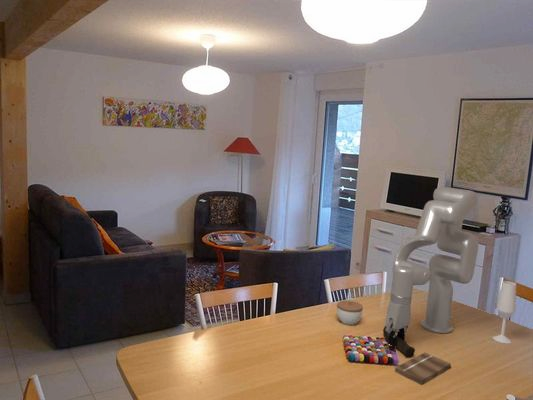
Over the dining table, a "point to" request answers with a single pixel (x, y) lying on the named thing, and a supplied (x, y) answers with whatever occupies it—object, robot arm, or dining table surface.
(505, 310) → the champagne flute
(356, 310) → the lidded jar
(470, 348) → the dining table surface
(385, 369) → the dining table surface
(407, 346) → the hand tool
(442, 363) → the board
